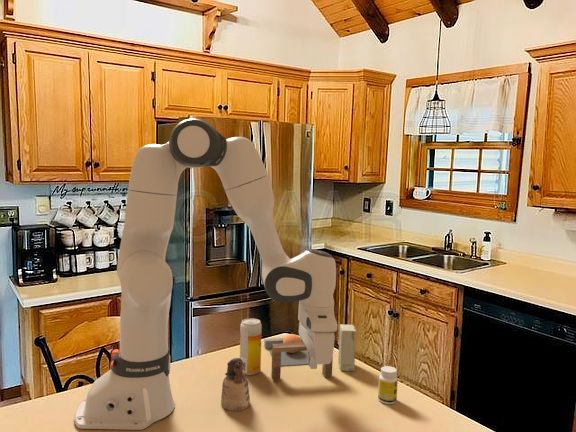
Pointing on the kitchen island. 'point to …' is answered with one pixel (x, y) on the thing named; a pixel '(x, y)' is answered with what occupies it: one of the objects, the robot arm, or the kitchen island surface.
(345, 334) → the skincare box
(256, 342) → the beer can
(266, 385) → the kitchen island surface
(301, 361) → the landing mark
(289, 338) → the ball
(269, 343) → the stopper
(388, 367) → the supplement bottle
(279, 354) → the bridge
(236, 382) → the figurine
